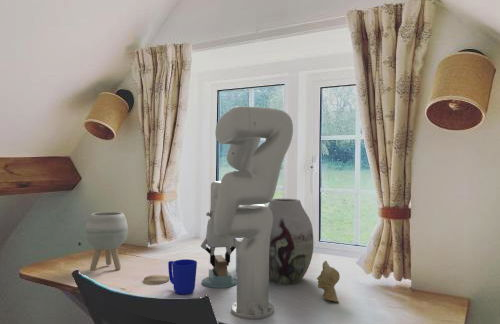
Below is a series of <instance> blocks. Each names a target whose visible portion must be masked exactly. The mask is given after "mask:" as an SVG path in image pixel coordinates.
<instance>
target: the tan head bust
mask: <svg viewBox="0 0 500 324" xmlns="http://www.w3.org/2000/svg"><path fill="white" fill-rule="evenodd" d="M339 272H340V271H338V270H337V269H336V268H334V267H332V266H330V264H329V263H328V261H327V260H324V261H323V262H322V270H321V272H320V274H319V275H318V276H317V278H316V280H318V281H317V287H318V289H322V290H323V291H324V292H323V294H322V298H323V299H324V300H327V301H331V302H335V303H340V301H339V299H338V295H337V292H336V289H335V286H336V284H337V283H339V281H340V279H341V278H340V276H341V275H340V273H339Z"/></svg>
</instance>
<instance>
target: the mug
mask: <svg viewBox="0 0 500 324" xmlns="http://www.w3.org/2000/svg"><path fill="white" fill-rule="evenodd" d="M167 264H168V266H167V267H168V276H169V282H170V283H171V284H172V285H173V290H174V292H175V294H176V295H177V294H178V295H189V294H191V293H193V292H194V291H195V287H196V279H197V278H196V276H197V268H198V262H197V260H194V259H187V258H185V259H178V260H169V261H168V262H167Z"/></svg>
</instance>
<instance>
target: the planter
mask: <svg viewBox="0 0 500 324" xmlns="http://www.w3.org/2000/svg"><path fill="white" fill-rule="evenodd" d="M128 226H129V225H128V221H127V217H126V215H125V214H124V213H123V212H122V211H99V212H93V213H91V214H90V215H89V217H88V219H87V221H86V226H85V238H86V241H87V243H88V244H89V245H90V246H91V247H92V248H93V250H94V252H93V256H92V260H91V263H90V268H89V271H90V272H94V271H96V269H97V266H98V263H99V260H100V256H101V254H102V251H104V252H105V264H106V265H107V266H111V265H112V261H113V265H114V268H115V270H116V271H119V270H121V263H120V262H121V261H120V256H119V250H118V249H119V248H120V246H121V245H122V244H123V243H124V242H125V241H126V239H127V237H128V234H129V233H128V232H129V227H128Z"/></svg>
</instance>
